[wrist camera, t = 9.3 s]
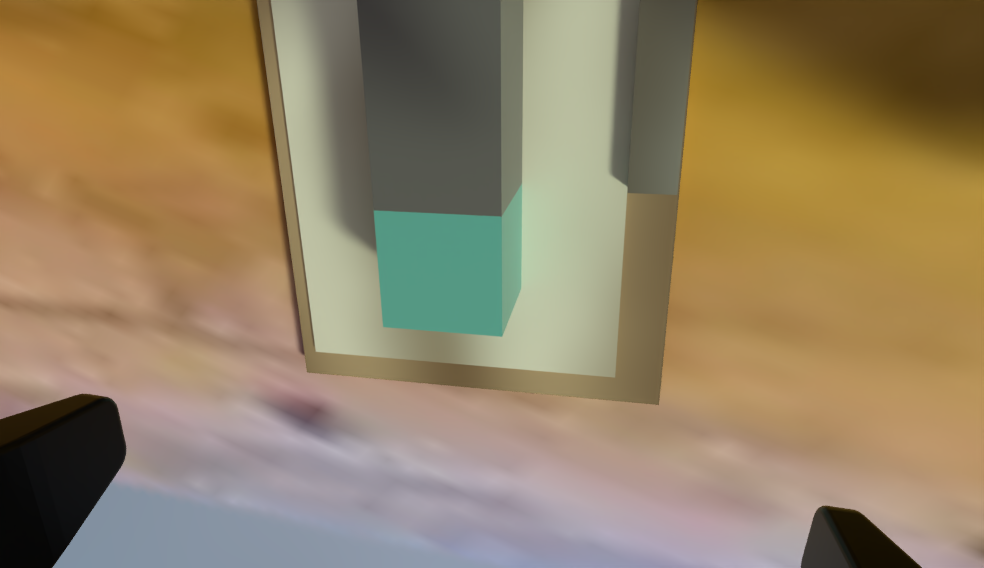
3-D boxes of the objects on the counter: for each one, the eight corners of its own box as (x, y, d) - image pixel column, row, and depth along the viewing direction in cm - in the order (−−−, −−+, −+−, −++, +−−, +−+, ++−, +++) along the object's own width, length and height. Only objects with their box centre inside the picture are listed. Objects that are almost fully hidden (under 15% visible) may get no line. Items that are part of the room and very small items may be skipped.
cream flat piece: (738, -460, 13) (750, -510, 12) (658, 393, 20) (659, 420, 19) (217, -392, 15) (178, -428, 14) (314, 363, 22) (295, 385, 21)
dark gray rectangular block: (525, -235, 14) (498, -288, 12) (521, 288, 19) (502, 336, 16) (389, -225, 15) (334, -274, 12) (417, 281, 20) (383, 327, 17)
